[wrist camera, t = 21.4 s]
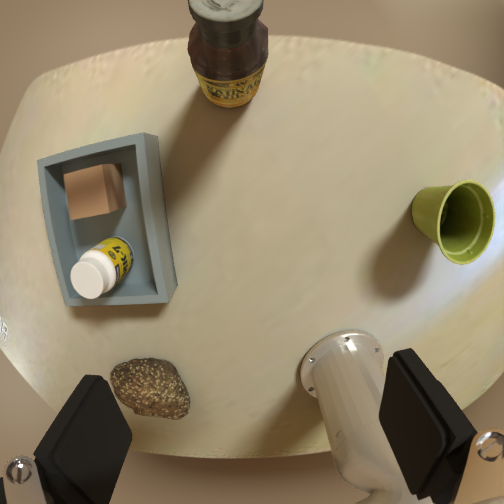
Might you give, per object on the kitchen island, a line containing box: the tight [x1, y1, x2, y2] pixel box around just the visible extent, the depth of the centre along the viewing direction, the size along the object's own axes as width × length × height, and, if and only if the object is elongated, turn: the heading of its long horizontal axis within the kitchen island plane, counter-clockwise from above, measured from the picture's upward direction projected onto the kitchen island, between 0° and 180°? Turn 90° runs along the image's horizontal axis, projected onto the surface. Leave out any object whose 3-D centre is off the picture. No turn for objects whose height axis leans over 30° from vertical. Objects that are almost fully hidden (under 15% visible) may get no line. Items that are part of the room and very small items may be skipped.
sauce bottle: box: [187, 0, 268, 108], centre depth 21 cm, size 7×6×20 cm
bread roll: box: [110, 358, 190, 420], centre depth 40 cm, size 13×12×5 cm
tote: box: [37, 133, 178, 306], centre depth 32 cm, size 18×14×5 cm
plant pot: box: [411, 180, 495, 265], centre depth 31 cm, size 9×9×9 cm
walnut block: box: [64, 163, 127, 220], centre depth 30 cm, size 5×5×5 cm
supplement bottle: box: [70, 236, 134, 299], centre depth 31 cm, size 5×5×8 cm
